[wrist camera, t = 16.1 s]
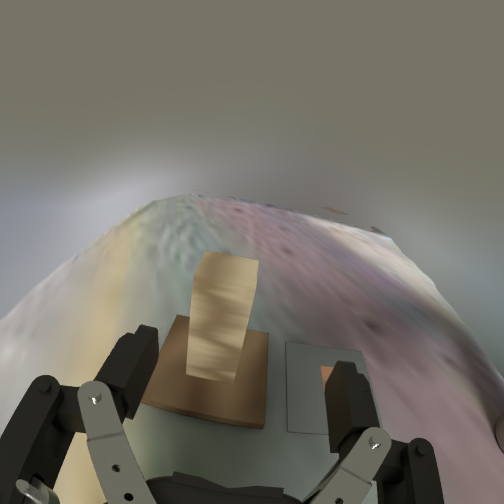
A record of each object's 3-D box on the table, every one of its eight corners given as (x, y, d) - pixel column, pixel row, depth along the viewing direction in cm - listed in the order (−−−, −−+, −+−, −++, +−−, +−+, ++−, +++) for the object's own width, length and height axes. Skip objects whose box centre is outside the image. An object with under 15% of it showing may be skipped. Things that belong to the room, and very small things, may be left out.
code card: (360, 351, 37) (360, 351, 37) (383, 433, 24) (384, 432, 24) (285, 342, 37) (285, 341, 37) (287, 431, 24) (287, 431, 24)
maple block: (238, 352, 32) (258, 260, 27) (233, 384, 28) (256, 288, 23) (195, 343, 32) (206, 250, 27) (185, 374, 28) (193, 275, 23)
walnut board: (266, 339, 37) (268, 333, 37) (262, 429, 24) (264, 424, 24) (176, 320, 37) (177, 314, 36) (140, 402, 24) (139, 396, 24)
